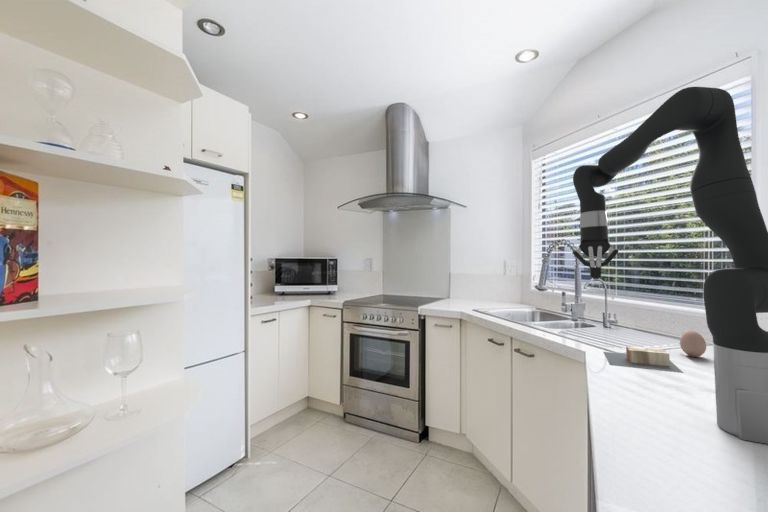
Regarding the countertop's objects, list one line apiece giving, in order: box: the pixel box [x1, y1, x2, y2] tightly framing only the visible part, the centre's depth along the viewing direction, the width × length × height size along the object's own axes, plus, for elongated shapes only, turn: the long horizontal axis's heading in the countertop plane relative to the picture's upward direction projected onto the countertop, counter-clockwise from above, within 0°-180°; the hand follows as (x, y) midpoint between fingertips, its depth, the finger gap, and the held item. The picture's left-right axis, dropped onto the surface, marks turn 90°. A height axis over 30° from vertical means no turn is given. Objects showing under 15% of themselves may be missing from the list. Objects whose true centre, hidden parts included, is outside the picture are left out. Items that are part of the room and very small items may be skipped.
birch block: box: [625, 346, 671, 366], centre depth 104 cm, size 5×4×10 cm
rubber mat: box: [603, 351, 684, 374], centre depth 105 cm, size 16×18×1 cm
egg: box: [679, 329, 707, 358], centre depth 110 cm, size 7×7×9 cm
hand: (595, 278), depth 103 cm, fingers closed
